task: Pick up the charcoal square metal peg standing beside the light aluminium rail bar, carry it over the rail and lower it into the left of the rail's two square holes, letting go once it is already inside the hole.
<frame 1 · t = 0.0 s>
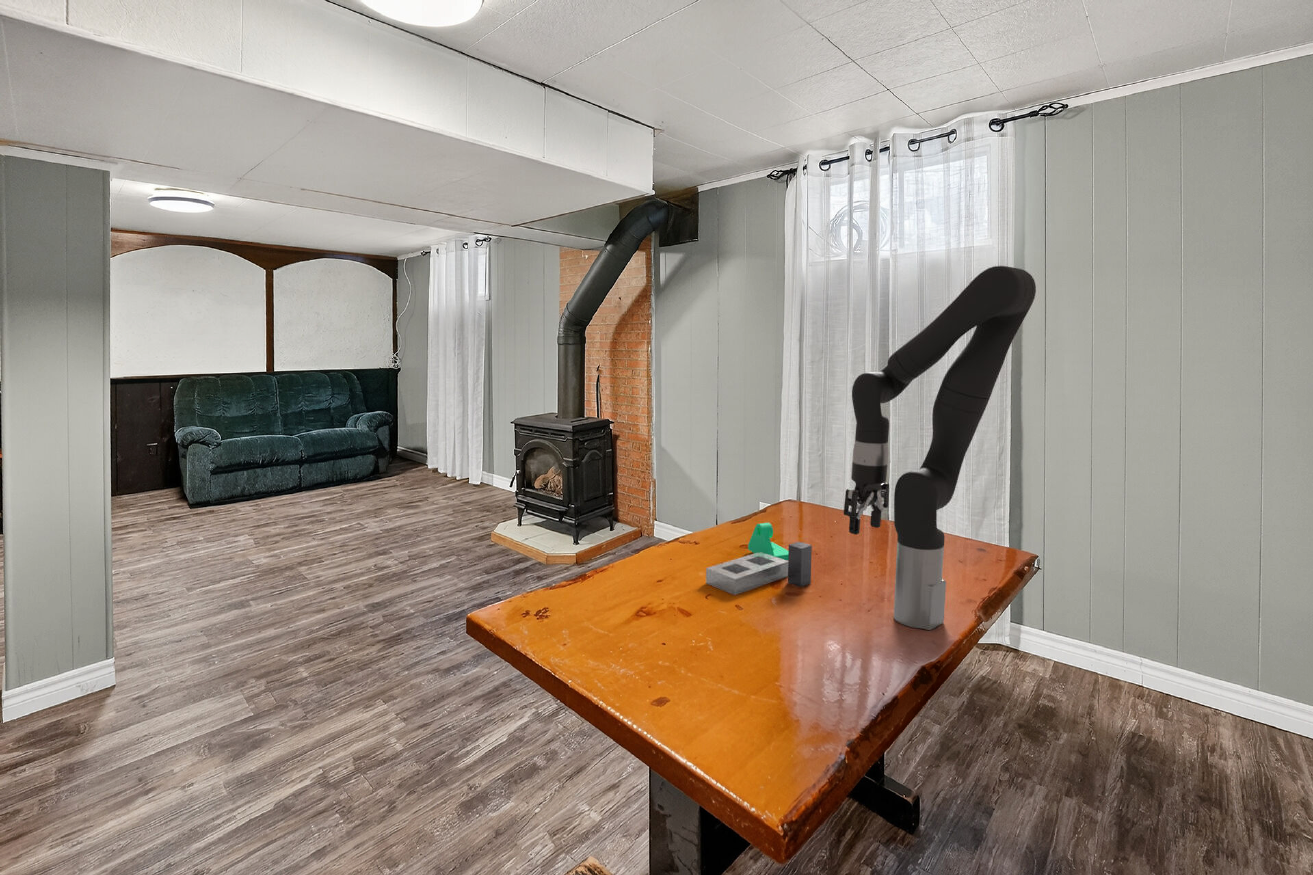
hand: (864, 530, 144), 17 cm above the table, tool pointing down, fingers open, 8 cm apart
peg: (799, 583, 158), on the table
rail: (747, 579, 161), on the table
camera mount: (770, 558, 178), on the table
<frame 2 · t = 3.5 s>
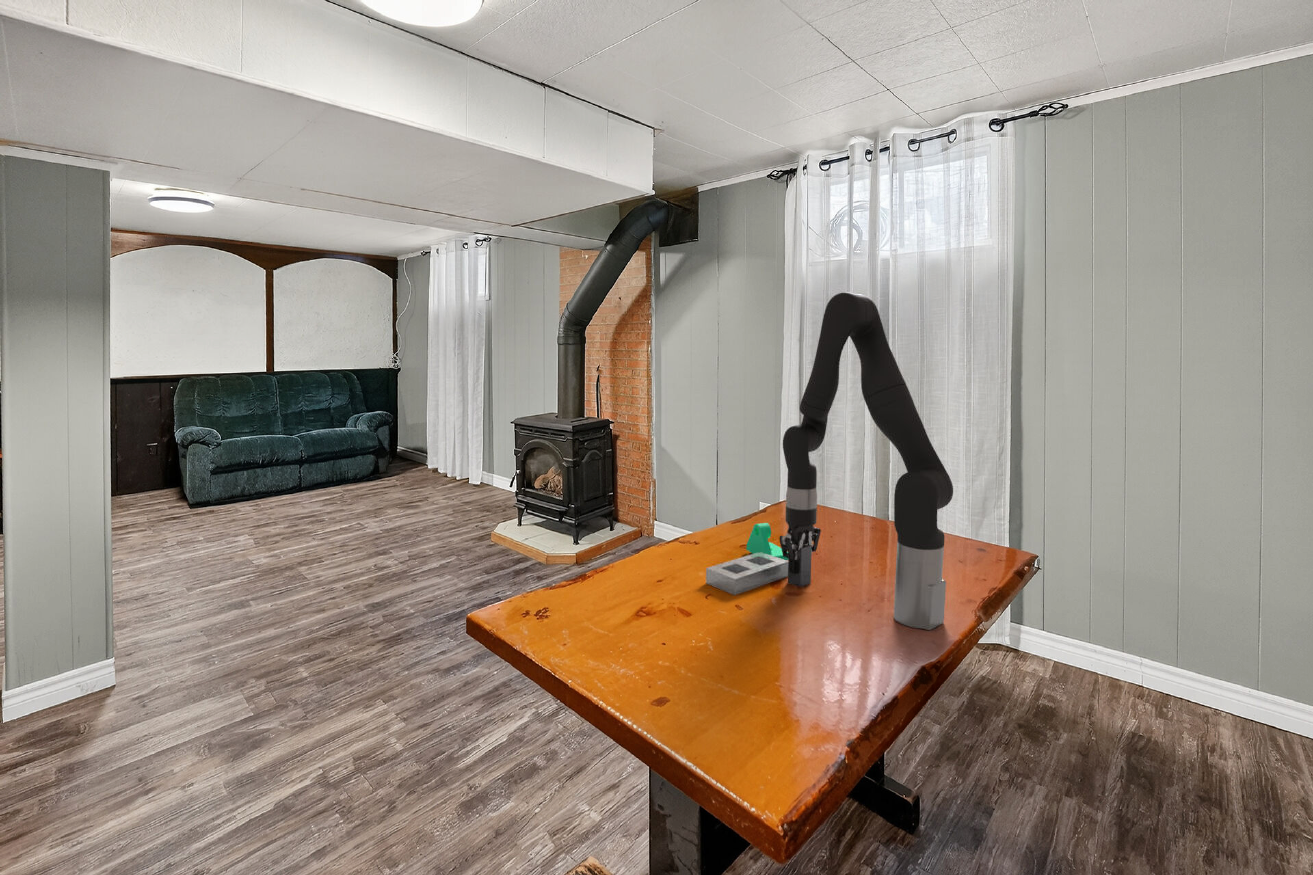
hand: (799, 570, 158), 3 cm above the table, tool pointing down, fingers closed on peg, 4 cm apart
peg: (799, 583, 158), on the table, touching gripper
when the fingers open (5 cm above the table, at t = 9.0 s): peg drops 2 cm, resting in rail.
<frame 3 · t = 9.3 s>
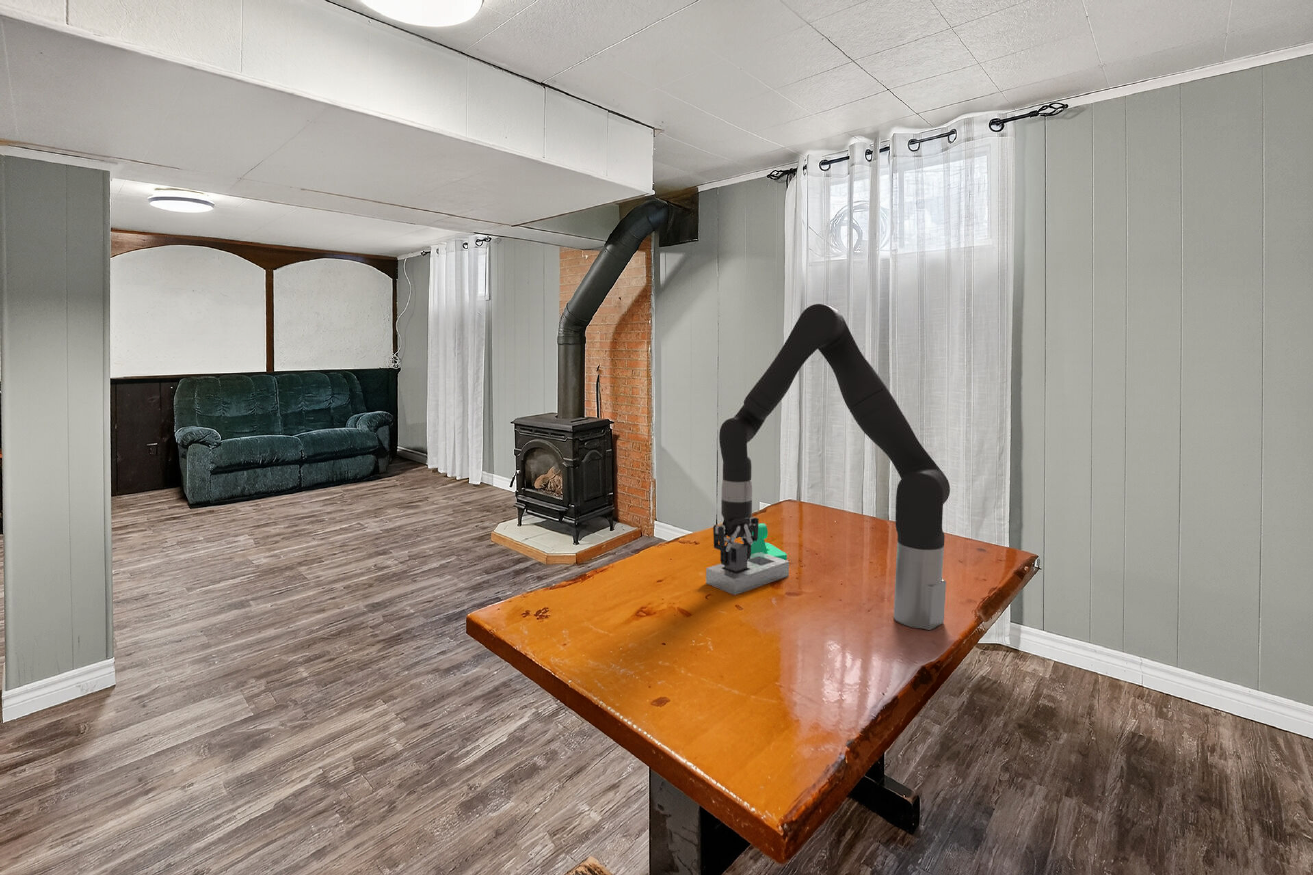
hand: (735, 561, 157), 6 cm above the table, tool pointing down, fingers open, 7 cm apart
peg: (735, 583, 158), resting in rail
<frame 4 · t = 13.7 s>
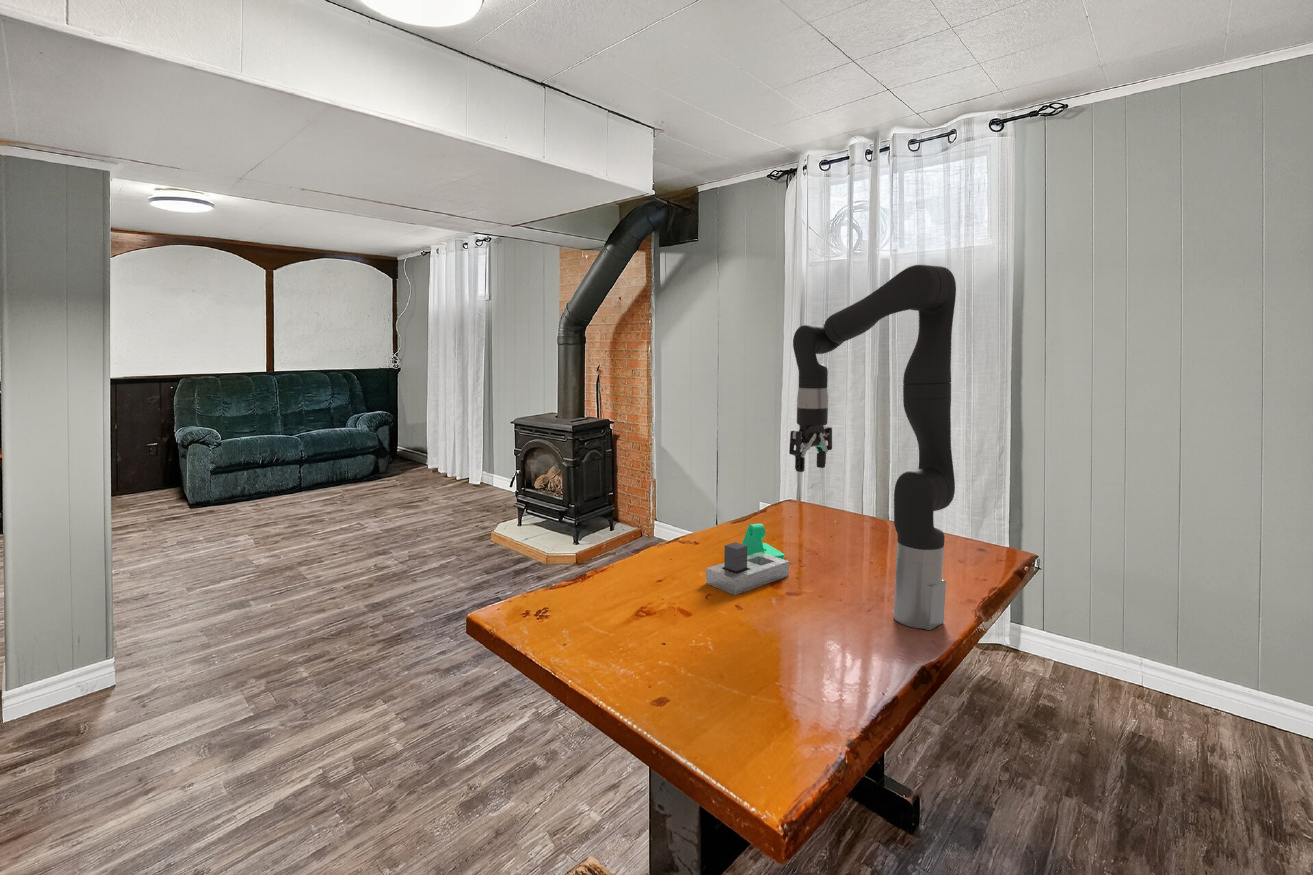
hand: (810, 469, 159), 28 cm above the table, tool pointing down, fingers open, 8 cm apart
at the end: peg 0.0 cm from the target spot on the rail, point 0.0 cm above the rail's base; peg tilted 0°; the gripper is holding nothing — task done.
